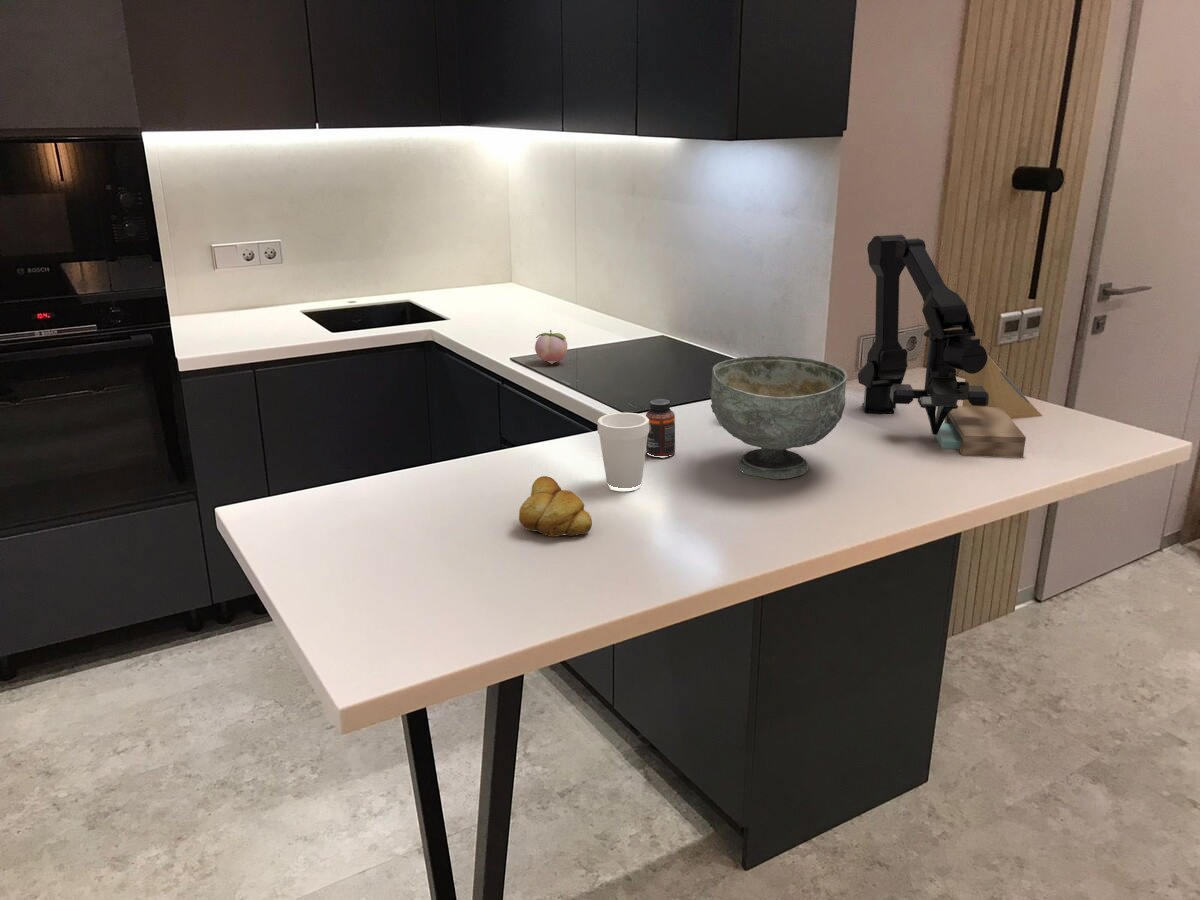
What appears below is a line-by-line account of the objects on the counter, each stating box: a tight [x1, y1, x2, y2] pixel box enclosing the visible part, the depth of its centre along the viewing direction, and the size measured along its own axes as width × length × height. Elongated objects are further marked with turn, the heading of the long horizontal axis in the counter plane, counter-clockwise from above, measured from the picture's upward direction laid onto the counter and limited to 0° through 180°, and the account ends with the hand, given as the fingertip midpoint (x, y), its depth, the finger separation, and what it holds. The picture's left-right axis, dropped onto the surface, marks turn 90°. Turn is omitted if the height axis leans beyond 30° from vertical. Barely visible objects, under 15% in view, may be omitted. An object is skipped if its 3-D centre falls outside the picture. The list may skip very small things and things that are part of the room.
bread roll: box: [518, 475, 593, 537], centre depth 156 cm, size 13×10×8 cm
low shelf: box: [943, 405, 1027, 458], centre depth 194 cm, size 12×20×4 cm, turn 171°
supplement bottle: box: [645, 398, 676, 456], centre depth 189 cm, size 6×6×11 cm
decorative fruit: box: [534, 329, 568, 362], centre depth 262 cm, size 9×8×10 cm
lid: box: [934, 422, 962, 450], centre depth 195 cm, size 12×12×2 cm
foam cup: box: [597, 412, 649, 488], centre depth 173 cm, size 10×9×13 cm
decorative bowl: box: [709, 355, 848, 480], centre depth 179 cm, size 26×26×20 cm
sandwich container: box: [962, 355, 1043, 420], centre depth 209 cm, size 9×15×15 cm, turn 98°
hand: (934, 434), depth 196 cm, fingers closed
